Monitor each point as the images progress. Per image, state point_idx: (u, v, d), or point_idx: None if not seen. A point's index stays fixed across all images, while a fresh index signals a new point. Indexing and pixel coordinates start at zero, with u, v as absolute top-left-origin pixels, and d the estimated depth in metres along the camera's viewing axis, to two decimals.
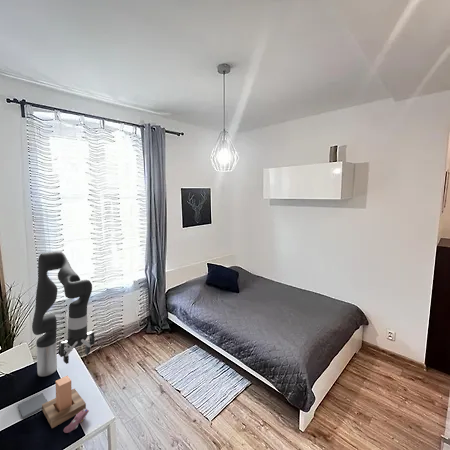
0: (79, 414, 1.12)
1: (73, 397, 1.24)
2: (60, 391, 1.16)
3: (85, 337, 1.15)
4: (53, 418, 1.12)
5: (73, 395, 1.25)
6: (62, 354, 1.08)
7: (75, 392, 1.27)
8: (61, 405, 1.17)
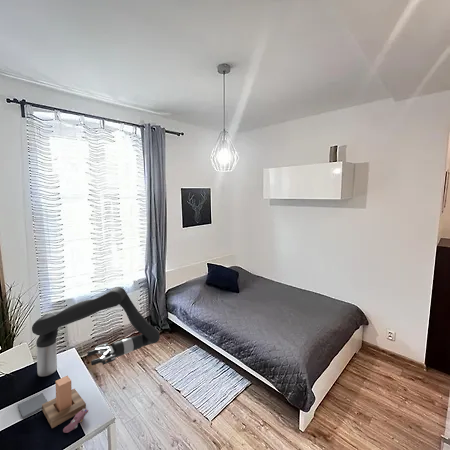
0: (78, 414, 1.12)
1: (73, 397, 1.24)
2: (60, 391, 1.16)
3: None
4: (53, 418, 1.12)
5: (73, 395, 1.25)
6: None
7: (75, 392, 1.27)
8: (61, 405, 1.17)
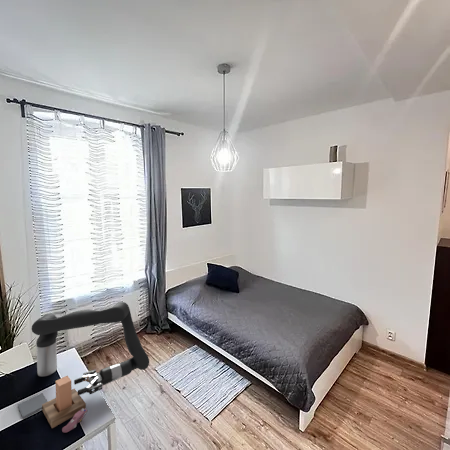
0: (78, 414, 1.12)
1: (73, 397, 1.24)
2: (60, 391, 1.16)
3: None
4: (53, 418, 1.12)
5: (73, 395, 1.25)
6: None
7: (75, 392, 1.27)
8: (61, 405, 1.17)
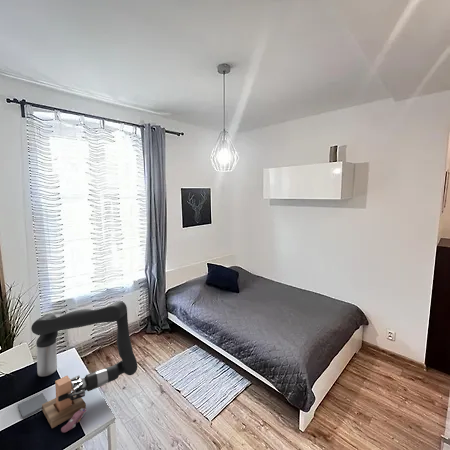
0: (77, 413, 1.12)
1: None
2: (60, 391, 1.16)
3: None
4: (53, 418, 1.12)
5: None
6: None
7: None
8: (61, 405, 1.17)
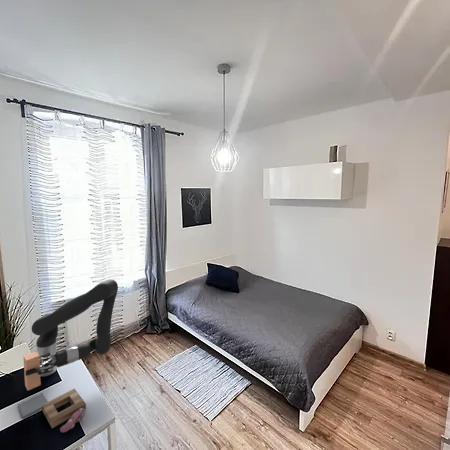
0: (76, 413, 1.12)
1: (73, 397, 1.24)
2: (27, 365, 1.16)
3: None
4: (53, 418, 1.12)
5: (73, 395, 1.25)
6: None
7: (75, 392, 1.27)
8: (29, 380, 1.17)
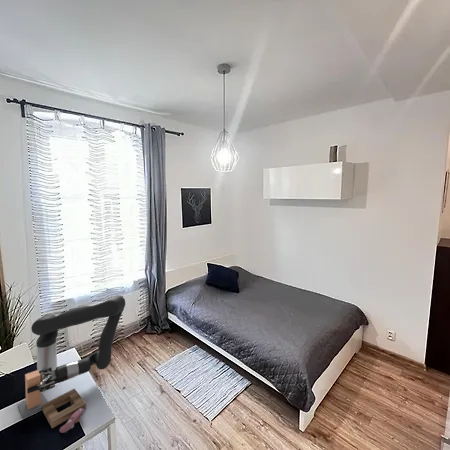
0: (75, 414, 1.12)
1: (73, 397, 1.24)
2: (28, 385, 1.17)
3: None
4: (53, 418, 1.12)
5: (73, 395, 1.25)
6: None
7: (75, 392, 1.27)
8: (29, 399, 1.18)
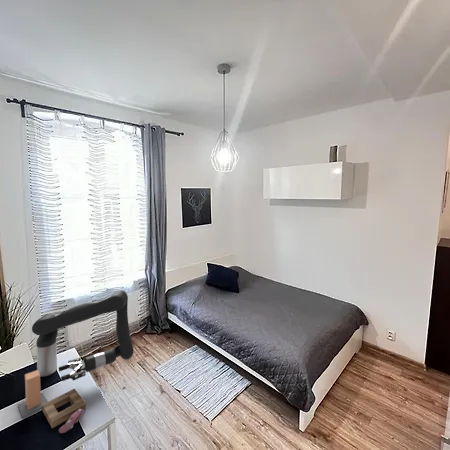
0: (74, 414, 1.12)
1: (73, 397, 1.24)
2: (28, 385, 1.18)
3: None
4: (53, 418, 1.12)
5: (73, 395, 1.25)
6: None
7: (75, 392, 1.27)
8: (29, 399, 1.18)
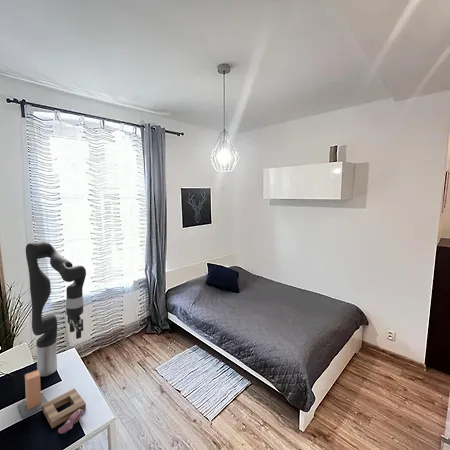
0: (74, 415, 1.12)
1: (73, 397, 1.24)
2: (28, 385, 1.18)
3: None
4: (53, 418, 1.12)
5: (73, 395, 1.25)
6: None
7: (75, 392, 1.27)
8: (29, 399, 1.18)
